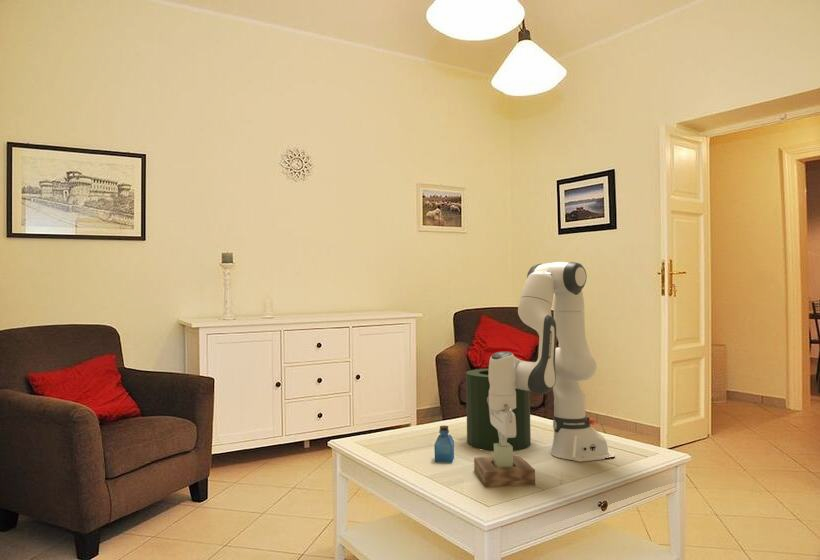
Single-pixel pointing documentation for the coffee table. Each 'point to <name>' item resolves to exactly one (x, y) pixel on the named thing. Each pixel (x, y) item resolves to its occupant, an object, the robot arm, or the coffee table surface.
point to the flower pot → (478, 415)
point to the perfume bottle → (444, 446)
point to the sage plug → (503, 455)
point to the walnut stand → (504, 472)
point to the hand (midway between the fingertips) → (503, 444)
